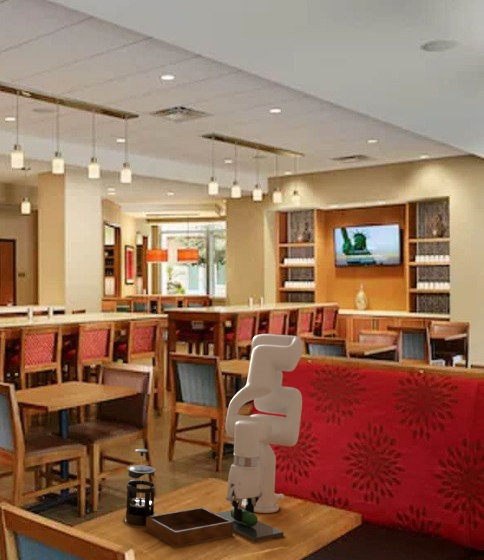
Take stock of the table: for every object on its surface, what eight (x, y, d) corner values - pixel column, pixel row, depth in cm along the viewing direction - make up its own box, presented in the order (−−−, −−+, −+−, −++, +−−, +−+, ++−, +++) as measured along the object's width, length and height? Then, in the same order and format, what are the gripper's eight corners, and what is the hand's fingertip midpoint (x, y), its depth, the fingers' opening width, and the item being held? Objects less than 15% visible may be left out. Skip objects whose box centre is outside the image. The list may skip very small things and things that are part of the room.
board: (234, 514, 239) (234, 509, 239) (283, 537, 220) (283, 532, 220) (205, 519, 233) (205, 514, 233) (253, 543, 214) (253, 538, 214)
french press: (161, 526, 226) (163, 452, 225) (134, 529, 222) (137, 454, 222) (143, 514, 237) (145, 443, 236) (117, 517, 233) (119, 445, 232)
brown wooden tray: (201, 521, 232) (202, 507, 232) (232, 536, 219) (233, 521, 219) (145, 531, 221) (146, 516, 221) (174, 548, 208) (175, 532, 208)
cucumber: (237, 516, 232) (237, 504, 232) (260, 527, 223) (260, 514, 223) (227, 518, 230) (227, 505, 230) (250, 529, 221) (250, 515, 221)
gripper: (257, 455, 234) (255, 512, 234) (216, 460, 226) (214, 519, 226) (274, 461, 227) (272, 519, 227) (233, 466, 219) (231, 527, 219)
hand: (243, 518), depth 226 cm, fingers closed on cucumber, 4 cm apart
